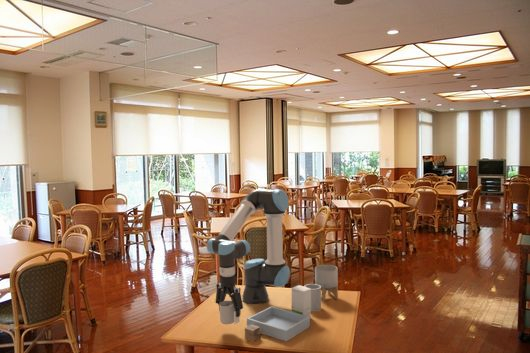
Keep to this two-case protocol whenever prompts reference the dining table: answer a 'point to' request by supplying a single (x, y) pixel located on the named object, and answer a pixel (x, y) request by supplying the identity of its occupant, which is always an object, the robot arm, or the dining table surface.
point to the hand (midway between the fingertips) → (229, 320)
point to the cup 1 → (227, 312)
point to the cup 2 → (315, 296)
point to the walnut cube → (252, 332)
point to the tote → (279, 323)
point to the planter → (327, 279)
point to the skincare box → (301, 300)
